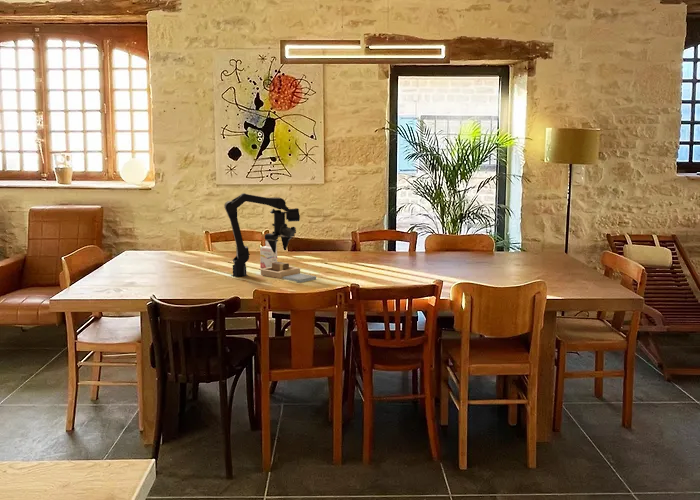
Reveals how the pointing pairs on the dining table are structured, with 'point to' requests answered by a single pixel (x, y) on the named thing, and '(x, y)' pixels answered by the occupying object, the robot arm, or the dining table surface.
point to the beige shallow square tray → (280, 272)
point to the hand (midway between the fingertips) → (279, 251)
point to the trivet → (300, 277)
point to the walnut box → (279, 266)
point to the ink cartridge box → (267, 256)
